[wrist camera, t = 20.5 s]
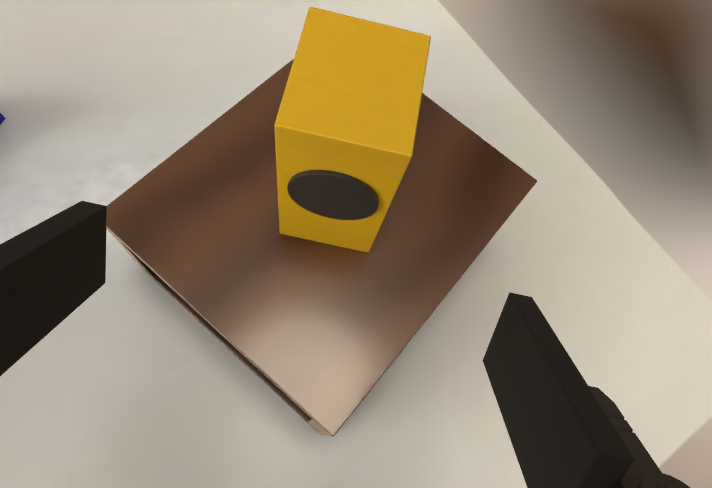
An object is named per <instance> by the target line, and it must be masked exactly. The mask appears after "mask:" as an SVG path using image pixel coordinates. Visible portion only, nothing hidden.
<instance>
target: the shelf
mask: <svg viewBox="0 0 712 488" xmlns="http://www.w3.org/2000/svg"><path fill="white" fill-rule="evenodd" d="M293 61H294V59H293V60H292V61H290V62H289V63H288V64H287V65H285V66H284V67H283V68H281V69H280V70H279V71H278V72H276V73H275V74H274V75H273V76H271V77H270V78H269V79H267V80H266V81H265V82H264V83H262V84H261V85H260V86H259V87H257V88H256V89H255V90H254V91H252V92H251V93H250V94H248V95H247V96H246V97H245V98H243V99H242V100H241V101H240V102H238V103H237V104H236V105H235V106H233V107H232V108H231V109H229V110H228V111H227V112H226V113H224V114H223V115H222V116H221V117H219V118H218V119H217V120H215V121H214V122H213V123H212V124H210V125H209V126H208V127H207V128H205V129H204V130H203V131H202V132H200V133H199V134H198V135H196V136H195V137H194V138H193V139H191V140H190V141H189V142H188V143H186V144H185V145H184V146H183V147H181V148H180V149H179V150H177V151H176V152H175V153H174V154H172V155H171V156H170V157H169V158H167V159H166V160H165V161H163V162H162V163H161V164H160V165H158V166H157V167H156V168H155V169H153V170H152V171H151V172H150V173H148V174H147V175H146V176H144V177H143V178H142V179H141V180H139V181H138V182H137V183H136V184H134V185H133V186H132V187H131V188H129V189H128V190H127V191H125V192H124V193H123V194H122V195H120V196H119V197H118V198H117V199H115V200H114V201H113V202H111V203H110V204H109V205H108V206H107V214H106V229H107V230H108V231H109V232H110V233H111V234H112V235H113V236H114V237H115V239H116V240H117V241H118V242H119V243H120V244H121V245H122V246H123V247H124V249H125V250H126V251H127V252H128V253H129V254H130V255H131V256H132V257H133V259H134V260H135V261H136V262H137V263H138V264H139V265H140V266H141V267H142V268H143V269H144V270H145V271H146V272H147V273H148V274H149V275H150V276H151V277H152V278H153V279H154V280H155V281H157V282H158V283H159V284H160V285H161V286H162V287H163V288H164V289H165V290H166V291H167V292H168V293H169V294H170V295H172V296H173V297H174V298H175V299H176V300H177V301H178V302H179V303H180V304H181V305H182V306H183V307H184V308H185V309H187V310H188V311H189V312H190V313H191V314H192V315H193V316H194V317H195V318H196V319H197V320H198V321H199V322H200V323H202V324H203V325H204V326H205V327H206V328H207V329H208V330H209V331H210V332H211V333H212V334H213V335H214V336H216V337H217V338H218V339H219V340H220V341H221V342H222V343H223V344H224V345H225V346H226V347H227V348H228V349H229V350H231V351H232V352H233V353H234V354H235V355H236V356H237V357H238V358H239V359H240V360H241V361H242V362H243V363H244V364H246V365H247V366H248V367H249V368H250V369H251V370H252V371H253V372H254V373H255V374H256V375H257V376H258V377H260V378H261V379H262V380H263V381H264V382H265V383H266V384H267V385H268V386H269V387H270V388H271V389H272V390H273V391H275V392H276V393H277V394H278V395H279V396H280V397H281V398H282V399H283V400H284V401H285V402H286V403H287V404H288V405H290V406H291V407H292V408H293V409H294V410H295V411H296V412H297V413H298V414H299V415H300V416H301V417H302V418H304V419H305V420H306V421H308V423H309V424H310V425H311V426H312V427H313V428H314V429H315V430H316V431H317V432H319V433H320V434H321V435H326V436H334V435H335V434H336V433H337V431H338V430H339V429H340V428H341V426H342V425H343V424H344V423H345V421H346V420H347V419H348V418H349V416H350V415H351V414H352V413H353V411H354V410H355V409H356V408H357V406H358V405H359V404H360V403H361V401H362V400H363V399H364V398H365V396H366V395H367V394H368V393H369V391H370V390H371V389H372V388H373V386H374V385H375V384H376V383H377V381H378V380H379V379H380V378H381V376H382V375H383V374H384V373H385V371H386V370H387V369H388V368H389V366H390V365H391V364H392V363H393V361H394V360H395V359H396V358H397V356H398V355H399V354H400V353H401V351H402V350H403V349H404V348H405V346H406V345H407V344H408V342H409V341H410V340H411V339H412V337H413V336H414V335H415V334H416V332H417V331H418V330H419V329H420V327H421V326H422V325H423V324H424V322H425V321H426V320H427V319H428V317H429V316H430V315H431V314H432V312H433V311H434V310H435V309H436V307H437V306H438V305H439V304H440V302H441V301H442V300H443V299H444V297H445V296H446V295H447V294H448V292H449V291H450V290H451V289H452V287H453V286H454V285H455V284H456V282H457V281H458V280H459V279H460V277H461V276H462V275H463V274H464V272H465V271H466V270H467V269H468V267H469V266H470V265H471V264H472V262H473V261H474V260H475V259H476V257H477V256H478V255H479V254H480V252H481V251H482V250H483V249H484V247H485V246H486V245H487V244H488V242H489V241H490V240H491V239H492V237H493V236H494V235H495V234H496V232H497V231H498V230H499V229H500V227H501V226H502V225H503V224H504V222H505V221H506V220H507V219H508V217H509V216H510V215H511V214H512V212H513V211H514V210H515V209H516V207H517V206H518V205H519V204H520V202H521V201H522V200H523V199H524V197H525V196H526V195H527V194H528V192H529V191H530V190H531V188H532V187H533V186H534V185H535V183H536V182H537V180H536V179H534V178H533V177H532V176H530V175H529V174H528V173H526V172H525V171H524V170H523V169H521V168H520V167H519V166H517V165H516V164H515V163H513V162H512V161H511V160H509V159H508V158H507V157H505V156H504V155H503V154H502V153H500V152H499V151H498V150H496V149H495V148H494V147H492V146H491V145H490V144H488V143H487V142H486V141H485V140H483V139H482V138H481V137H479V136H478V135H477V134H475V133H474V132H473V131H471V130H470V129H469V128H467V127H466V126H465V125H464V124H462V123H461V122H460V121H458V120H457V119H456V118H454V117H453V116H452V115H450V114H449V113H448V112H446V111H445V110H444V109H443V108H441V107H440V106H439V105H437V104H436V103H435V102H433V101H432V100H431V99H429V98H428V97H427V96H426V95H424V94H423V93H422V96H421V103H420V109H419V115H418V122H417V128H416V134H415V141H414V147H413V153H412V157H411V160H410V162H409V164H408V166H407V169H406V171H405V173H404V175H403V178H402V180H401V182H400V184H399V187H398V189H397V191H396V193H395V195H394V198H393V200H392V202H391V204H390V207H389V209H388V211H387V213H386V216H385V218H384V220H383V222H382V225H381V227H380V229H379V231H378V233H377V236H376V238H375V240H374V242H373V245H372V247H371V249H370V251H369V253H367V252H363V251H358V250H353V249H349V248H344V247H339V246H335V245H330V244H326V243H321V242H316V241H312V240H307V239H303V238H298V237H293V236H289V235H284V234H280V230H279V209H278V188H277V167H276V146H275V126H274V125H275V121H276V118H277V115H278V111H279V108H280V104H281V101H282V98H283V94H284V91H285V88H286V84H287V81H288V78H289V74H290V71H291V67H292V64H293Z"/></svg>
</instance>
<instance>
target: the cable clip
mask: <svg viewBox="0 0 712 488" xmlns="http://www.w3.org/2000/svg"><path fill="white" fill-rule="evenodd" d="M4 119H5V117H4V116H3V115H2V114H1V113H0V124H1V123H2V122H3V121H4Z"/></svg>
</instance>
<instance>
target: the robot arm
mask: <svg viewBox="0 0 712 488" xmlns="http://www.w3.org/2000/svg"><path fill="white" fill-rule="evenodd" d="M106 214H107V206H104V205H99V204H94V203H90V202H85V201H81V202H79V203H77V204H75V205H73V206H71V207H69V208H68V209H66V210H64V211H62V212H60V213H58V214H56V215H55V216H53V217H51V218H49V219H47V220H45V221H43V222H41V223H40V224H38V225H36V226H34V227H32V228H30V229H28V230H26V231H25V232H23V233H21V234H19V235H17V236H15V237H13V238H11V239H10V240H8V241H6V242H4V243H2V244H0V376H1V375H2V374H3V373H4V372H5V371H7V370H8V369H9V368H10V367H11V366H12V365H13V364H14V363H16V362H17V361H18V360H19V359H20V358H21V357H22V356H23V355H25V354H26V353H27V352H28V351H29V350H30V349H31V348H32V347H34V346H35V345H36V344H37V343H38V342H39V341H40V340H41V339H43V338H44V337H45V336H46V335H47V334H48V333H49V332H50V331H52V330H53V329H54V328H55V327H56V326H57V325H58V324H59V323H61V322H62V321H63V320H64V319H65V318H66V317H67V316H68V315H70V314H71V313H72V312H73V311H74V310H75V309H76V308H77V307H79V306H80V305H81V304H82V303H83V302H84V301H85V300H86V299H88V298H89V297H90V296H91V295H92V294H93V293H94V292H95V291H97V290H98V289H99V288H100V287H101V286H102V285H103V284H104V283H105V269H106ZM483 362H484V365H485V368H486V371H487V374H488V377H489V379H490V382H491V385H492V388H493V391H494V394H495V396H496V399H497V402H498V405H499V408H500V411H501V414H502V416H503V419H504V422H505V425H506V428H507V431H508V433H509V436H510V439H511V442H512V445H513V448H514V450H515V453H516V456H517V459H518V462H519V465H520V468H521V470H522V473H523V476H524V479H525V482H526V485H527V487H528V488H690V487H689V486H687V485H686V484H685V483H683V482H682V481H680V480H678V479H676V478H673V477H672V476H670V475H666V474H663V473H662V472H661V471H660V470H659V468H658V467H657V465H656V464H655V462H654V461H653V459H652V458H651V456H650V455H649V453H648V452H647V450H646V449H645V447H644V446H643V444H642V443H641V441H640V440H639V439H638V437H637V436H636V434H635V433H633V432H632V431H633V430H632V428H631V427H630V425H629V424H628V422H627V421H626V420H624V416H623V415H622V413H621V412H620V411H619V409H618V408H617V406H616V405H615V403H614V402H613V401H612V400H611V399H610V398H609V397H607V396H606V395H605V394H604V393H603V392H602V391H601V390H600V389H599V388H596V387H591V386H588V385H587V383H586V382H585V380H584V379H583V377H582V375H581V374H580V372H579V371H578V369H577V368H576V366H575V364H574V363H573V361H572V360H571V358H570V357H569V355H568V353H567V352H566V350H565V349H564V347H563V346H562V344H561V342H560V341H559V339H558V338H557V336H556V334H555V333H554V331H553V330H552V328H551V327H550V325H549V323H548V322H547V320H546V319H545V317H544V316H543V314H542V312H541V311H540V309H539V308H538V306H537V305H536V303H535V301H534V300H533V298H532V297H528V296H524V295H519V294H514V293H510V292H509V295H508V298H507V300H506V303H505V305H504V308H503V310H502V313H501V315H500V318H499V320H498V323H497V326H496V328H495V331H494V333H493V336H492V338H491V341H490V343H489V346H488V348H487V351H486V354H485V356H484V359H483Z"/></svg>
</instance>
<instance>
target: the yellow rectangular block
mask: <svg viewBox="0 0 712 488" xmlns="http://www.w3.org/2000/svg"><path fill="white" fill-rule="evenodd" d="M430 39H431V37H430V36H428V35H424V34H420V33H416V32H412V31H408V30H404V29H400V28H396V27H391V26H387V25H383V24H379V23H375V22H371V21H367V20H363V19H359V18H354V17H350V16H346V15H342V14H338V13H334V12H330V11H326V10H322V9H318V8H313V7H310V8H309V10H308V14H307V17H306V20H305V24H304V27H303V30H302V34H301V37H300V41H299V44H298V47H297V51H296V54H295V57H294V61H293V64H292V67H291V71H290V74H289V78H288V81H287V84H286V88H285V91H284V94H283V98H282V101H281V104H280V108H279V111H278V115H277V118H276V121H275V125H274V126H275V146H276V167H277V188H278V209H279V230H280V234H284V235H289V236H293V237H298V238H303V239H307V240H312V241H316V242H321V243H326V244H330V245H335V246H339V247H344V248H349V249H353V250H358V251H363V252H367V253H369V251H370V249H371V247H372V245H373V242H374V240H375V238H376V236H377V233H378V231H379V229H380V227H381V225H382V222H383V220H384V218H385V216H386V213H387V211H388V209H389V207H390V204H391V202H392V200H393V198H394V195H395V193H396V191H397V189H398V187H399V184H400V182H401V180H402V178H403V175H404V173H405V171H406V169H407V166H408V164H409V162H410V160H411V157H412V153H413V147H414V141H415V134H416V128H417V122H418V115H419V109H420V103H421V96H422V90H423V84H424V77H425V71H426V64H427V58H428V52H429V45H430Z"/></svg>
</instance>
